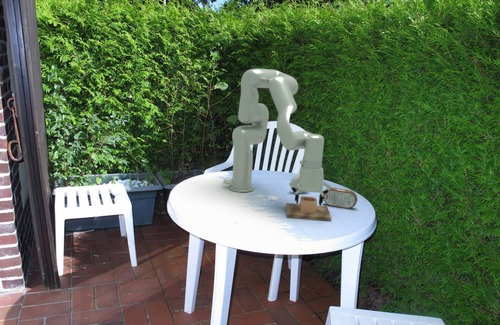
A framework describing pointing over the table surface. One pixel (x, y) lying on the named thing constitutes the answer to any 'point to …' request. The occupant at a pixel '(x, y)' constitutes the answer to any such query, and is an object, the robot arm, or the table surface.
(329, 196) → the tin
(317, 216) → the board
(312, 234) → the table surface
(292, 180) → the donut
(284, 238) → the table surface
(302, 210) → the hollow square tube
